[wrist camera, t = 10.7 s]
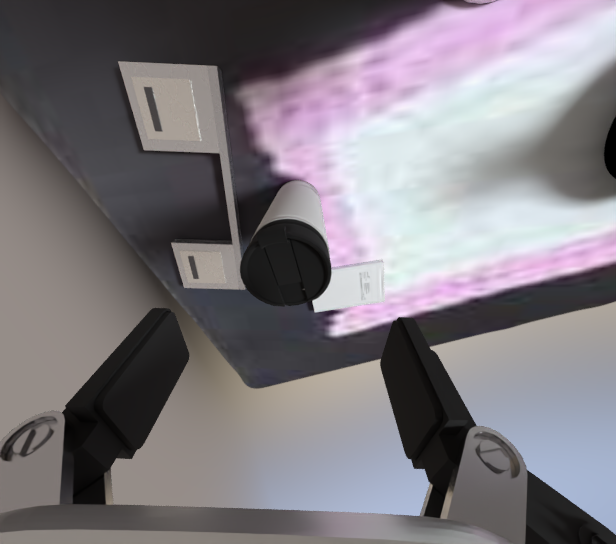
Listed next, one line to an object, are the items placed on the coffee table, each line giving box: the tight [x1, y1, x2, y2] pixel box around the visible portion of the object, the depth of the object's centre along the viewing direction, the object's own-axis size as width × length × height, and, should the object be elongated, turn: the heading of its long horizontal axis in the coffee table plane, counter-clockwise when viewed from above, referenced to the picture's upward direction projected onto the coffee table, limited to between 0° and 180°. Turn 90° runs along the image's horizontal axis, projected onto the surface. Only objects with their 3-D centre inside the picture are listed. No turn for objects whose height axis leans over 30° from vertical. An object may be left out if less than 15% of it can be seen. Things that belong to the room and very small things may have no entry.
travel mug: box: [240, 180, 332, 307], centre depth 23 cm, size 6×7×20 cm
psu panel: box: [118, 61, 246, 290], centre depth 31 cm, size 28×10×2 cm, turn 178°
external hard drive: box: [312, 260, 385, 312], centre depth 39 cm, size 2×8×12 cm
